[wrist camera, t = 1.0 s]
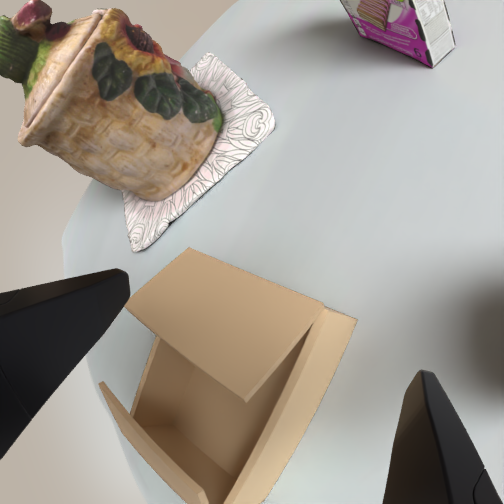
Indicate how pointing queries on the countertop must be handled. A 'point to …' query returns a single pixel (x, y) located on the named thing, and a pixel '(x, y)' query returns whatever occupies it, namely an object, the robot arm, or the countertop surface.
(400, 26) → the candy bar box
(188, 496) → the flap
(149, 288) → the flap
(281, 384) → the carton
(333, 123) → the countertop surface
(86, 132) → the cookie jar
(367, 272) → the countertop surface
